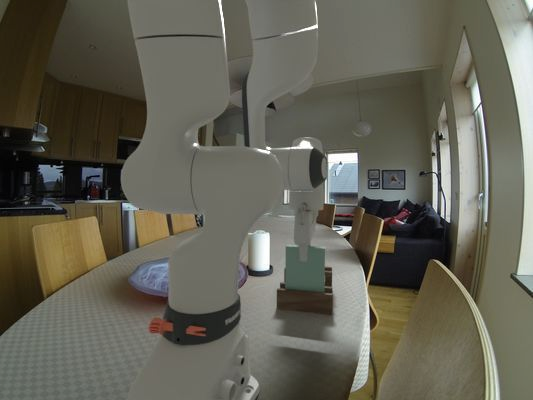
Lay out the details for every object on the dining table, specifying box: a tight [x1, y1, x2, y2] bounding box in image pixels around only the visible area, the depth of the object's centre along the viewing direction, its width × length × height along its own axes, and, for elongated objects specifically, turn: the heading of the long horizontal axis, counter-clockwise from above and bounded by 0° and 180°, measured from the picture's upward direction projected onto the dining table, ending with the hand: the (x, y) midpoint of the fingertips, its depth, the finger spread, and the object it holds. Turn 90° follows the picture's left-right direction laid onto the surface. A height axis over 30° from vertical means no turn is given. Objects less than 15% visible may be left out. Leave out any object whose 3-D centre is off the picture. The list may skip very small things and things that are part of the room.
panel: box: [284, 244, 326, 293], centre depth 67 cm, size 2×10×16 cm, turn 76°
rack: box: [276, 265, 334, 316], centre depth 73 cm, size 17×14×8 cm
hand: (305, 255), depth 67 cm, fingers open, 8 cm apart
